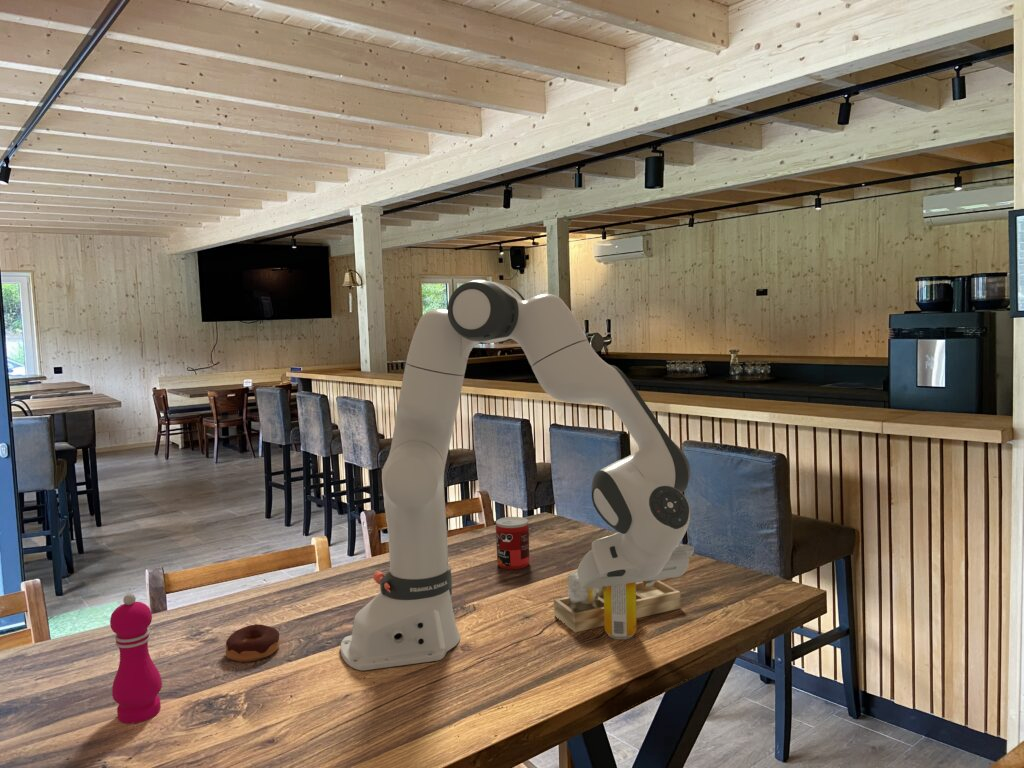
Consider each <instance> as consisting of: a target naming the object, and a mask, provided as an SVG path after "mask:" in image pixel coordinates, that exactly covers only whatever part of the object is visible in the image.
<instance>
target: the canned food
mask: <svg viewBox="0 0 1024 768" xmlns="http://www.w3.org/2000/svg"><path fill="white" fill-rule="evenodd" d="M529 531H530V527H529V520H528V518H525V517H520V516H507V517H500V518H499V519H497V520H496V521H495V537H496V538H495V539H496V543H495V544H496V562H497V565H498V567H500V569H501V568H502V569H505V570H519V569H523V568H527V566H529V564H530V532H529Z"/></svg>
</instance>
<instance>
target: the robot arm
mask: <svg viewBox="0 0 1024 768" xmlns="http://www.w3.org/2000/svg"><path fill="white" fill-rule="evenodd" d="M449 297H450V298H449V300H448V304H447V309H445V308H439V309H438V308H437V309H432V310H428V311H427V312H425V313H424V314H423V315H421V317H420V319H419V321H418V323H417V325H416V328H415V330H414V333H413V335H412V340H411V342H410V345H409V349H408V353H407V357H406V360H405V361H406V362H405V366H404V371H403V376H402V381H401V387H400V391H399V392H400V393H399V397H398V401H397V407H396V408H397V409H396V416H395V421H394V422H395V423H394V427H393V428H394V429H393V435H392V439H391V445H390V450H389V454H388V456H387V459H386V461H385V463H384V465H383V467H382V471H381V482H382V483H381V484H382V494H383V503H384V512H385V520H386V524H387V525H386V526H387V535H388V536H387V537H388V538H387V539H388V551H389V552H388V554H389V570H388V572H386V574H384V573H383V572H382V571H380V570H378V571H375V572H374V574H373V577H372V579H373V581H375V583H376V584H379V587H380V592H379V593H377V594H376V596H374V597H373V599H371V600H370V601H369V602H368V603H366V604H365V605H364V607H362V608H361V609H360V610H359V611H358V612H357V613H356V614H355V617H354V618H353V621H352V623H353V624H352V630H351V634H349V635H347V636H345V637H344V638H343V639H342V641H341V642H340V655H341V658H342V659H343V660H344V662H345V663H346V664H347V666H349V667H351V668H352V669H355V670H358V671H369V670H371V671H372V670H377V669H384V668H391V667H392V668H393V667H399V666H406V665H407V666H408V665H414V664H421V663H422V664H423V663H429V662H434V661H440V660H442V659H444V658H445V656H446V654H447V653H448V652H449V651H450V650H451V649H453V648H454V647H456V646H457V645H458V643H459V642H460V639H461V636H460V633H459V630H458V627H457V623H456V619H455V614H454V610H453V604H452V594H453V592H452V591H453V575H452V569H451V566H450V565H449V550H448V549H449V547H448V545H449V544H448V525H447V513H446V501H445V499H446V497H445V485H444V484H445V483H444V482H445V470H446V464H447V458H448V454H449V449H450V444H451V440H452V435H453V430H454V426H455V421H456V418H457V413H458V407H459V403H460V398H461V394H462V388H463V384H464V379H465V375H466V374H465V373H466V370H467V365H468V359H469V356H470V353H471V351H472V350H473V348H474V347H475V346H476V345H478V344H480V345H490V344H499V343H501V344H502V343H507V342H509V341H515V343H517V344H518V345H519V346H520V347H521V349H522V351H523V353H524V354H525V357H526V359H527V361H528V364H529V365H530V367H531V370H532V372H533V374H534V375H535V378H536V379H537V382H538V384H539V385H540V386H541V388H542V389H543V391H544V392H545V393H546V394H547V395H548V396H550V397H552V399H555V400H558V401H560V402H565V403H570V404H571V403H573V404H583V403H585V404H586V403H587V404H588V403H589V404H592V403H593V404H597V405H598V404H599V405H603V406H605V407H608V408H609V409H611V410H612V411H613V412H615V414H616V415H617V417H618V418H619V420H620V421H621V422H622V424H623V425H624V426H625V428H626V430H627V431H628V433H629V434H630V435H631V437H632V438H633V440H634V441H635V443H636V445H637V446H638V450H637V451H636V452H634V453H632V454H629V455H628V456H626V457H623V458H622V459H619V460H617V461H615V462H613V463H610V464H608V465H607V466H605V467H603V468H601V469H599V470H596V472H595V473H594V476H593V478H592V482H591V501H592V504H593V508H595V510H596V512H597V514H598V515H599V516H600V518H601V519H602V520H603V521H604V522H605V523H606V524H607V525H609V526H610V527H611V528H612V529H613V530H615V531H617V532H616V533H614V534H611V535H608V536H604V537H602V538H597V539H595V540H593V541H592V542H591V550H589V551H588V552H587V553H586V554H584V556H583V557H582V559H581V561H580V562H579V565H578V567H577V571H576V572H577V574H578V578H579V582H580V585H581V587H583V588H584V589H589V588H596V591H597V593H601V592H605V590H606V589H607V588H606V586H612V585H619V584H627V583H635V582H636V583H637V582H643V585H644V587H645V586H652V585H653V583H654V582H656V581H658V580H660V581H661V580H663V579H664V580H666V579H673V578H678V577H682V576H683V575H684V574H685V573H686V571H687V569H688V567H689V564H690V559H689V558H690V557H691V556H692V555H693V554H694V553H695V547H694V546H690V545H689V544H682V543H681V542H682V540H683V538H684V536H685V535H686V532H687V530H688V527H689V524H690V520H691V508H690V504H689V501H688V499H687V497H686V496H685V495H684V494H683V493H684V492H685V491H686V489H687V488H688V485H689V480H690V476H691V467H690V466H691V465H690V462H689V460H688V457H687V455H686V454H685V453H684V452H683V450H682V449H681V448H680V447H679V446H678V445H677V444H676V443H675V442H674V441H673V439H671V437H670V436H669V435H668V434H667V432H666V431H665V429H664V428H663V426H662V425H661V424H660V422H659V421H658V419H657V418H656V416H655V415H654V413H653V412H652V411H651V409H650V407H648V406H649V405H647V403H646V402H645V400H644V399H643V397H642V396H641V394H640V393H639V391H637V389H636V387H635V386H634V384H633V383H632V382H631V381H630V380H629V378H628V377H627V375H626V374H625V373H624V372H623V371H622V370H621V369H620V368H619V367H618V366H616V365H613V364H609V363H607V362H606V361H605V360H603V359H602V357H600V356H599V354H598V353H597V352H596V351H595V349H594V348H593V347H592V345H591V344H590V342H589V340H588V337H587V336H586V334H585V331H584V330H583V329H582V327H581V324H580V323H579V322H578V319H576V317H575V315H574V314H573V312H572V311H571V310H570V308H569V307H568V305H567V304H566V303H565V302H564V300H563V299H562V298H561V297H559V296H558V295H556V294H552V293H544V294H543V293H542V294H538V295H534V296H533V297H530V298H528V299H525V297H524V296H523V295H522V294H521V292H519V291H518V290H517V289H515V288H513V287H510V286H508V285H506V284H504V283H502V282H498V281H488V280H484V279H473V280H469V281H467V282H465V283H462V284H461V285H459V286H457V288H456V289H455V290H454V291H453V292H452V294H451V295H450V296H449Z"/></svg>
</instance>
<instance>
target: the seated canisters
mask: <svg viewBox="0 0 1024 768" xmlns="http://www.w3.org/2000/svg"><path fill="white" fill-rule="evenodd" d="M567 588H568V589H567V590H568V592H567V593H568V596H567V597H569V608H571V609H572V610H573V611H575V612H576V613H578V612H583V611H587V610H592V609H596V608H599V600H598V593H597V591H596V588H589V589H584V588H583V587H581V585H580V582H579V578H578V574H577V571H574V572H572V573H570V574H568V575H567ZM603 600H604V592H603Z"/></svg>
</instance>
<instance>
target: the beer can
mask: <svg viewBox="0 0 1024 768" xmlns="http://www.w3.org/2000/svg"><path fill="white" fill-rule="evenodd" d="M636 583H637V582H635V583H627V584H619V585H612V586H606V588H607V589H606V590H605V592H604V623H605V626H604V631H605V633H607V635H608V637H610V638H611V639H615V640H627V639H631V638H632V637H634V635H635V633H636V632H637V618H636Z"/></svg>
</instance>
